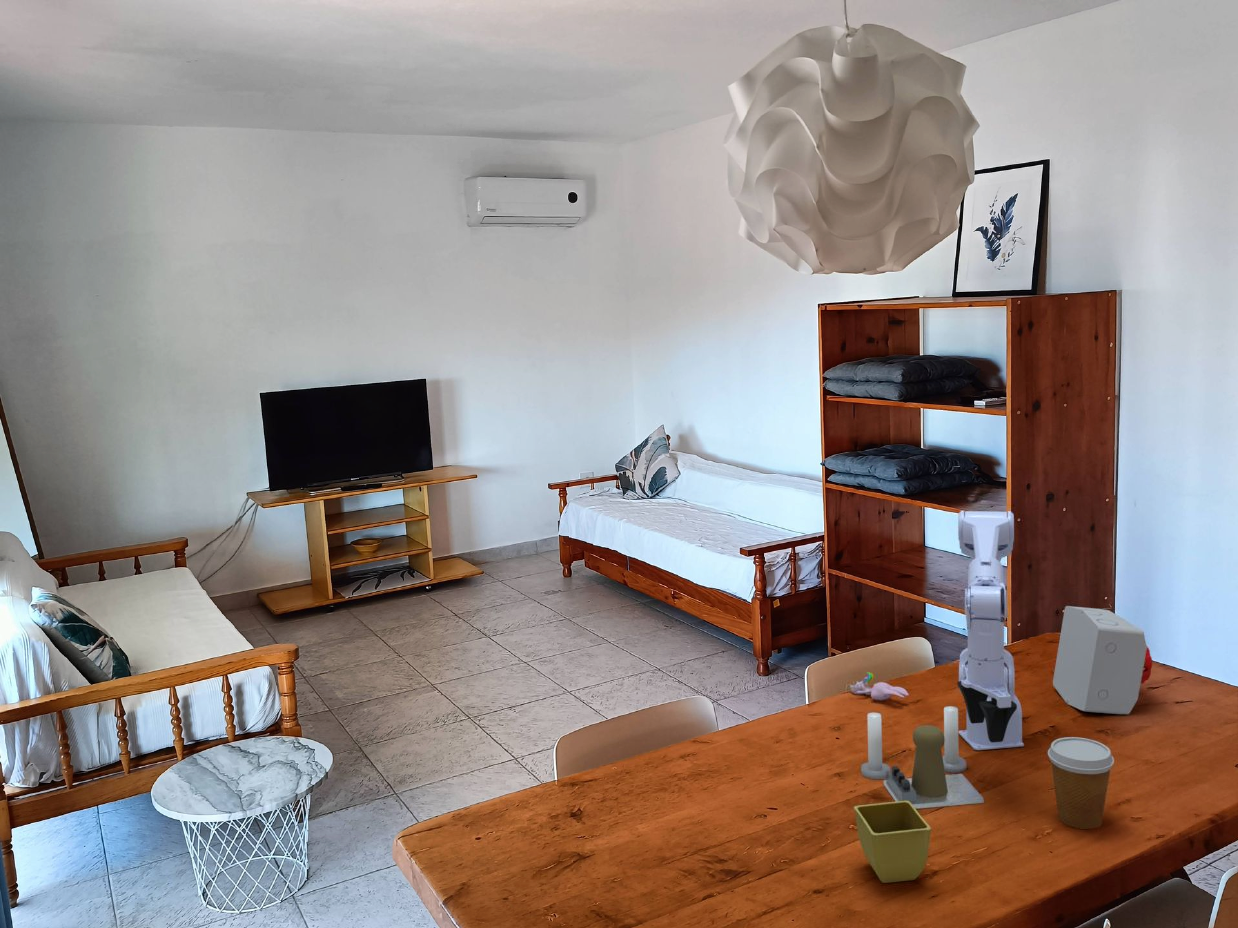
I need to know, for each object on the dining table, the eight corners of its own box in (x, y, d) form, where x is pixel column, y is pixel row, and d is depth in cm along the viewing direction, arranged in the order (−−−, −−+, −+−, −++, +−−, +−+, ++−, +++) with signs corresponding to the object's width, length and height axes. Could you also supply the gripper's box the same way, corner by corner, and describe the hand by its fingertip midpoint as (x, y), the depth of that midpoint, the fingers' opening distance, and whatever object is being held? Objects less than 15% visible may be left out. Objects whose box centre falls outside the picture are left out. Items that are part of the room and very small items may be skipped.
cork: (943, 780, 169) (942, 720, 168) (951, 797, 163) (950, 735, 162) (907, 780, 170) (906, 721, 168) (914, 797, 164) (913, 735, 162)
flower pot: (854, 859, 148) (852, 804, 147) (909, 853, 149) (908, 798, 148) (874, 893, 140) (872, 834, 138) (933, 886, 140) (932, 828, 139)
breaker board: (961, 777, 171) (961, 756, 171) (983, 802, 163) (983, 780, 162) (883, 784, 171) (883, 763, 170) (901, 809, 162) (901, 787, 161)
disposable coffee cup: (1086, 841, 149) (1087, 767, 148) (1034, 814, 158) (1034, 745, 156) (1126, 823, 154) (1127, 751, 152) (1073, 798, 162) (1074, 730, 160)
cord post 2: (959, 759, 178) (958, 702, 177) (970, 771, 174) (970, 713, 172) (932, 761, 178) (932, 704, 177) (943, 773, 173) (942, 715, 172)
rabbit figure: (841, 700, 212) (898, 708, 200) (837, 673, 212) (893, 680, 200) (860, 692, 216) (916, 699, 204) (856, 665, 216) (912, 672, 204)
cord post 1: (884, 765, 178) (883, 708, 176) (893, 778, 173) (892, 719, 171) (857, 767, 178) (856, 710, 176) (866, 780, 173) (864, 721, 171)
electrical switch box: (1157, 724, 193) (1175, 627, 190) (1083, 717, 193) (1099, 620, 190) (1121, 695, 207) (1136, 605, 204) (1051, 689, 207) (1066, 599, 204)
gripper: (945, 642, 171) (946, 716, 173) (981, 672, 156) (981, 751, 158) (985, 639, 171) (985, 713, 173) (1023, 668, 157) (1023, 748, 159)
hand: (986, 731), depth 166 cm, fingers open, 7 cm apart
